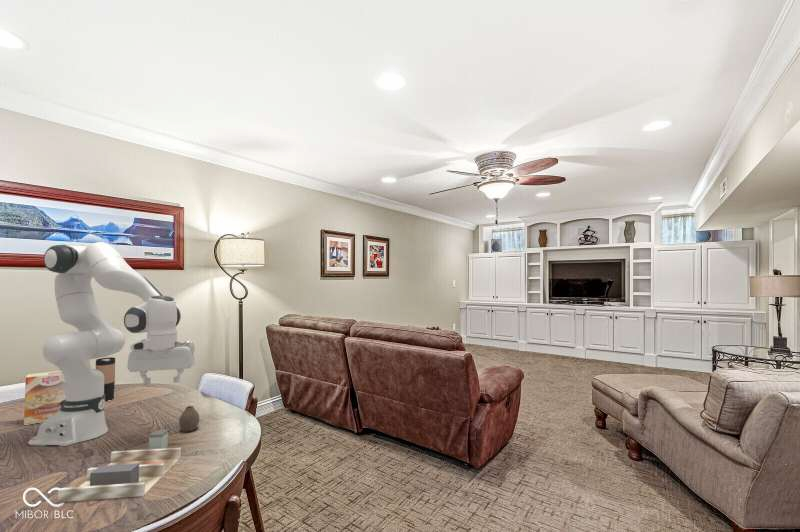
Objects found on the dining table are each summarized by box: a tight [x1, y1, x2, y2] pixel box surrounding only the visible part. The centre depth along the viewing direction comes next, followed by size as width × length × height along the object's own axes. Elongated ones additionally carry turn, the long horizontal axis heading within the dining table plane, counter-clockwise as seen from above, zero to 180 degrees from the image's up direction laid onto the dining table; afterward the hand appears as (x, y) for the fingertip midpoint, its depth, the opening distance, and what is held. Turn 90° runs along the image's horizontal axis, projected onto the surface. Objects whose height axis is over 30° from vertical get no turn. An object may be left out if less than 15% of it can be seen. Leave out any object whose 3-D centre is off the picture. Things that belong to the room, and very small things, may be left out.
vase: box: [178, 405, 200, 433], centre depth 144 cm, size 7×7×9 cm
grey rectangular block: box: [148, 429, 169, 449], centre depth 127 cm, size 4×4×6 cm
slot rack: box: [57, 447, 182, 503], centre depth 107 cm, size 20×22×4 cm
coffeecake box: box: [23, 370, 66, 426], centre depth 156 cm, size 15×7×20 cm, turn 131°
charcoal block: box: [90, 464, 139, 486], centre depth 102 cm, size 10×4×5 cm, turn 97°
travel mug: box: [95, 357, 116, 402], centre depth 182 cm, size 8×8×20 cm
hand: (162, 382), depth 128 cm, fingers open, 8 cm apart
